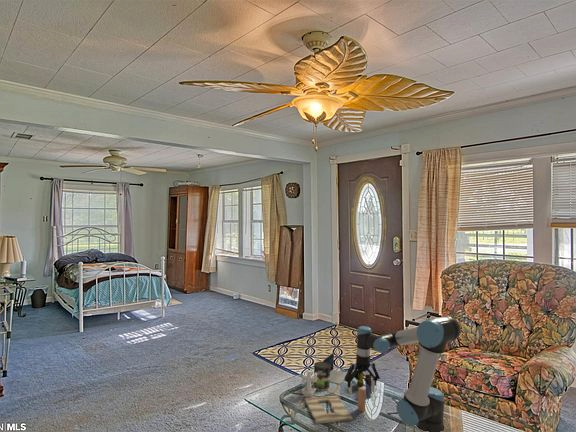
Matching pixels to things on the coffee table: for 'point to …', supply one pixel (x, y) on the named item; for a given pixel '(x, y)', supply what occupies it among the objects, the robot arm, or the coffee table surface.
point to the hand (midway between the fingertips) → (361, 391)
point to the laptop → (334, 371)
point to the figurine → (309, 384)
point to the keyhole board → (322, 417)
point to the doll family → (368, 381)
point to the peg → (361, 399)
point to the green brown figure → (322, 376)
